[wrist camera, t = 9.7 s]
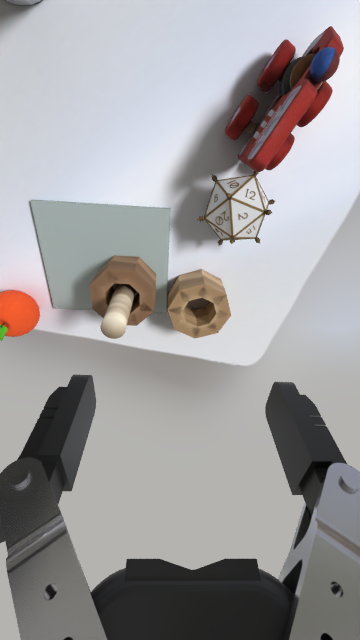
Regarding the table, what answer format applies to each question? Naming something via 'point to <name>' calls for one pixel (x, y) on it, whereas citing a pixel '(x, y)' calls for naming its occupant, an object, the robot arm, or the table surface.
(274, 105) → the red toy car
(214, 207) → the game die
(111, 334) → the birch peg
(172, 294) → the oak bead
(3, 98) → the table surface
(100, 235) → the grey mat
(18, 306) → the clementine
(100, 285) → the walnut bead
